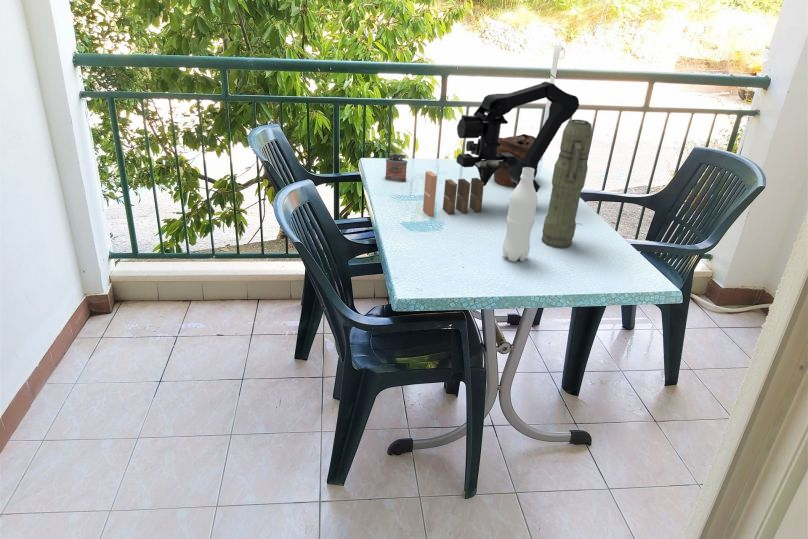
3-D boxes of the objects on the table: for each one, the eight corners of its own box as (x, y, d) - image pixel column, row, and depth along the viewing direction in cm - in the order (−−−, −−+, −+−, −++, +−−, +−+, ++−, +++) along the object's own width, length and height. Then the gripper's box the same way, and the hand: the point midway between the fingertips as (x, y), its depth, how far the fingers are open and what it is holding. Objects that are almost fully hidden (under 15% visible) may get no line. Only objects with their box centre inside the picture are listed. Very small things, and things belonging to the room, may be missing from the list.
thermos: (567, 234, 170) (591, 117, 154) (575, 251, 160) (602, 127, 144) (538, 232, 170) (558, 115, 155) (544, 248, 160) (567, 125, 144)
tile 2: (461, 207, 186) (464, 178, 182) (467, 213, 182) (470, 183, 177) (455, 208, 185) (458, 178, 181) (461, 213, 181) (464, 183, 177)
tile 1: (474, 206, 188) (477, 177, 183) (481, 211, 184) (484, 182, 179) (469, 207, 187) (471, 178, 182) (475, 212, 183) (478, 183, 178)
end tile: (428, 210, 183) (431, 171, 177) (433, 215, 178) (437, 176, 172) (422, 210, 182) (425, 171, 176) (428, 216, 178) (431, 176, 172)
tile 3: (448, 208, 185) (451, 179, 180) (454, 214, 181) (457, 184, 176) (442, 209, 184) (445, 179, 180) (448, 214, 180) (451, 184, 175)
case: (533, 175, 222) (540, 130, 214) (537, 192, 205) (544, 143, 196) (488, 172, 224) (493, 127, 216) (487, 188, 207) (493, 139, 198)
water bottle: (509, 249, 158) (522, 163, 147) (532, 257, 154) (548, 169, 143) (496, 257, 153) (509, 168, 142) (519, 266, 149) (534, 175, 138)
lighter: (383, 179, 208) (384, 153, 204) (386, 177, 211) (387, 150, 206) (404, 182, 206) (406, 156, 202) (407, 180, 209) (408, 153, 205)
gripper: (504, 130, 185) (497, 176, 192) (452, 131, 179) (447, 179, 186) (521, 139, 175) (513, 187, 183) (466, 140, 170) (460, 190, 177)
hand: (483, 185), depth 182 cm, fingers closed
